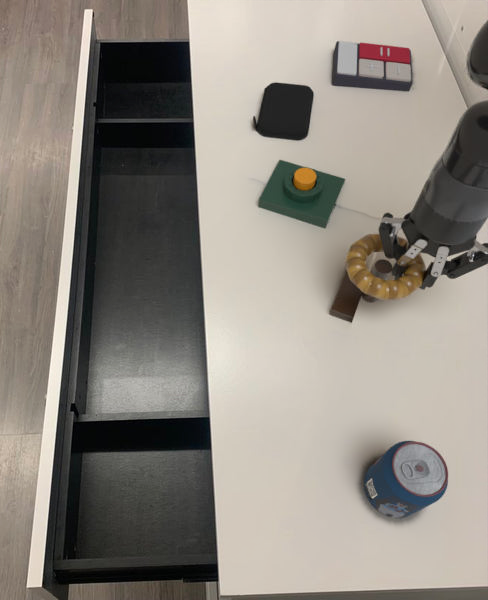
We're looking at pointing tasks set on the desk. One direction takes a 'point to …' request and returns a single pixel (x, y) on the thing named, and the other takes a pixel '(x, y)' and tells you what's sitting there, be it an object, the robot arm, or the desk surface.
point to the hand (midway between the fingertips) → (410, 279)
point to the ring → (377, 285)
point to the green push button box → (301, 195)
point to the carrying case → (285, 111)
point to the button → (304, 179)
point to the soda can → (406, 479)
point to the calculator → (371, 66)
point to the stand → (356, 292)
